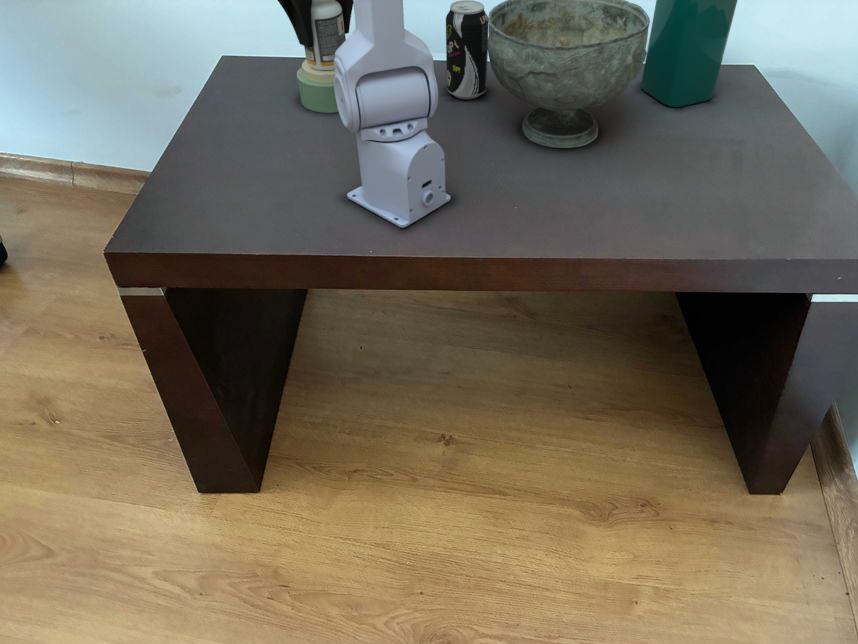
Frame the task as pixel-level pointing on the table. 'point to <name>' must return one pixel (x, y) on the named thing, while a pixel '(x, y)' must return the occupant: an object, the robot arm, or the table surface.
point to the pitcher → (686, 49)
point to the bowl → (566, 61)
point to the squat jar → (317, 89)
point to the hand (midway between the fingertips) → (324, 38)
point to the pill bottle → (325, 34)
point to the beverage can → (466, 49)
